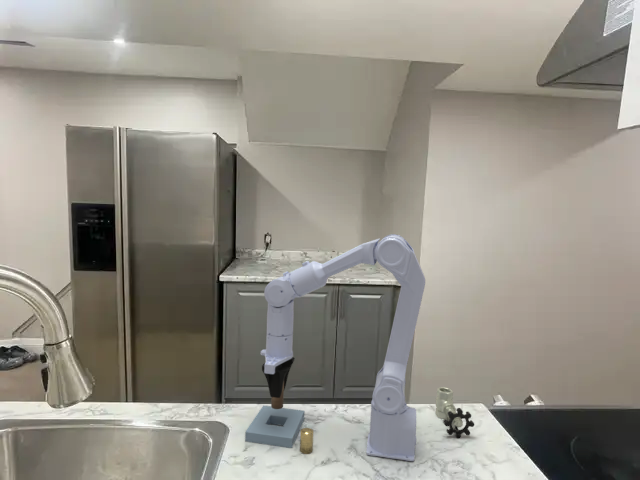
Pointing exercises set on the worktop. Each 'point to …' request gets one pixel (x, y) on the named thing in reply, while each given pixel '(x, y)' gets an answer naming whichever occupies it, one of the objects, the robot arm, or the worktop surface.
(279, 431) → the hole plate
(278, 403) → the walnut pin
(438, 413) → the valve
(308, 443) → the brass pin
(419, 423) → the worktop surface
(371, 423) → the robot arm
